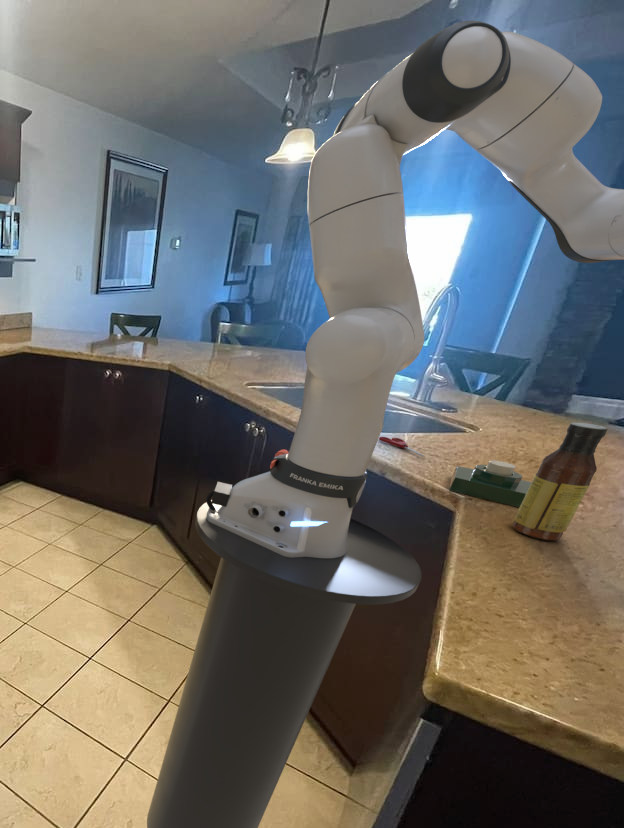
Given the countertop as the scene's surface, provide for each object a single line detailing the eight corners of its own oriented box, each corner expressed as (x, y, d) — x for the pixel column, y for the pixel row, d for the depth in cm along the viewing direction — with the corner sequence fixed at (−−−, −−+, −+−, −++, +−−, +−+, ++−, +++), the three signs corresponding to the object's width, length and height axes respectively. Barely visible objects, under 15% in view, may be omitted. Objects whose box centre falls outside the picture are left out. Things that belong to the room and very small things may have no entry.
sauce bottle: (562, 536, 86) (627, 428, 78) (555, 546, 82) (623, 434, 74) (511, 521, 91) (568, 418, 83) (503, 529, 87) (560, 423, 79)
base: (449, 490, 103) (459, 468, 101) (451, 477, 110) (460, 457, 108) (529, 510, 96) (542, 486, 94) (526, 495, 102) (538, 473, 100)
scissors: (397, 440, 133) (399, 437, 133) (434, 459, 121) (436, 455, 120) (376, 439, 134) (378, 435, 133) (410, 457, 121) (412, 453, 121)
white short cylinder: (484, 472, 101) (489, 463, 100) (484, 467, 103) (489, 458, 103) (511, 478, 98) (516, 469, 97) (510, 473, 101) (515, 464, 100)
